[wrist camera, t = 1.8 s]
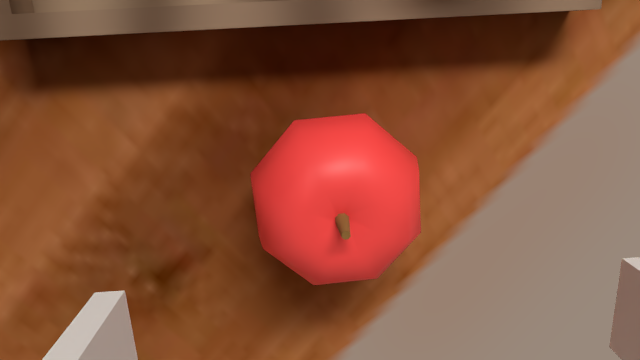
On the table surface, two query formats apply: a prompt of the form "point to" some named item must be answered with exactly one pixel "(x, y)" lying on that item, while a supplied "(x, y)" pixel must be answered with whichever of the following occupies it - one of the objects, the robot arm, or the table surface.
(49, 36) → the walnut well tray
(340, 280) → the apple
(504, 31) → the table surface
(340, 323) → the table surface
